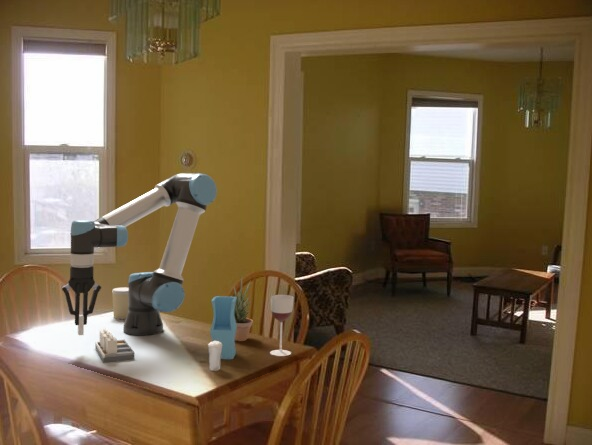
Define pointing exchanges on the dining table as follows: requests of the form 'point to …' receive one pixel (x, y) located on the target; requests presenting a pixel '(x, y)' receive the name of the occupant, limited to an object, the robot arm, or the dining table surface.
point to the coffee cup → (120, 302)
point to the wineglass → (281, 316)
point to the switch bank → (122, 353)
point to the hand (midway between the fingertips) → (80, 334)
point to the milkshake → (214, 355)
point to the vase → (224, 324)
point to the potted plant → (242, 315)
